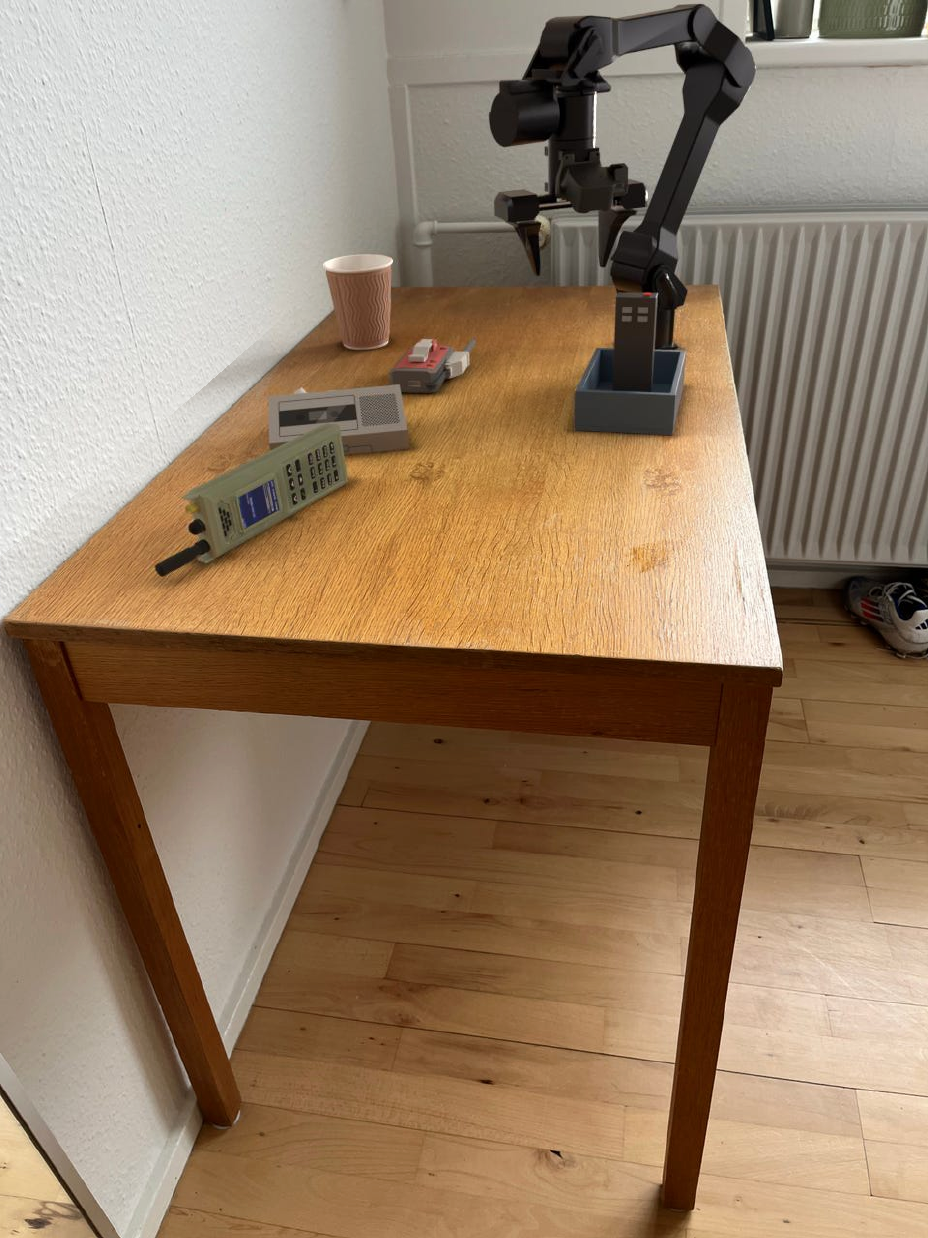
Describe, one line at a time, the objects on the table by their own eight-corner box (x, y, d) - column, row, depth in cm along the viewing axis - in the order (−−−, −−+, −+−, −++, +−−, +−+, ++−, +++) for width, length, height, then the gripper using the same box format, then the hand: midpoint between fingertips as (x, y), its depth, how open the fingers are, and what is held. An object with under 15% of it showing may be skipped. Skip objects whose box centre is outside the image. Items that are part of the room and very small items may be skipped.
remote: (614, 399, 119) (618, 290, 112) (651, 400, 118) (658, 290, 110) (611, 405, 117) (615, 295, 110) (649, 407, 116) (656, 296, 109)
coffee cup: (412, 338, 147) (406, 256, 141) (372, 357, 140) (363, 272, 133) (360, 330, 152) (351, 251, 145) (318, 348, 145) (307, 266, 138)
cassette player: (269, 443, 107) (268, 391, 113) (272, 462, 109) (271, 410, 115) (407, 429, 108) (398, 379, 115) (408, 448, 110) (400, 398, 117)
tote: (595, 383, 126) (596, 347, 123) (683, 387, 123) (686, 350, 120) (574, 430, 112) (574, 390, 110) (672, 435, 110) (675, 395, 107)
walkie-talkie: (450, 397, 124) (481, 350, 140) (448, 364, 121) (479, 319, 138) (385, 396, 126) (423, 349, 142) (382, 363, 123) (421, 319, 140)
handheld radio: (354, 484, 103) (174, 588, 86) (331, 479, 104) (150, 580, 87) (345, 425, 99) (156, 521, 82) (321, 421, 101) (131, 514, 84)
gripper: (523, 151, 107) (525, 294, 115) (672, 137, 111) (664, 275, 120) (490, 142, 116) (494, 274, 124) (630, 128, 120) (625, 258, 129)
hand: (570, 271), depth 124 cm, fingers open, 9 cm apart
